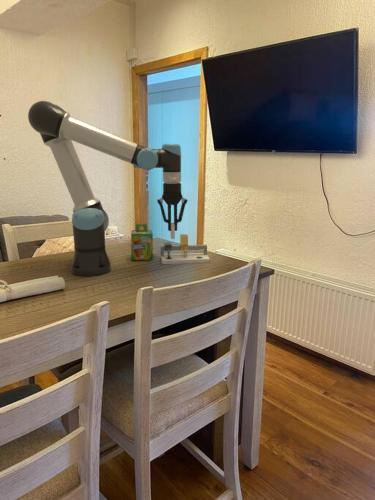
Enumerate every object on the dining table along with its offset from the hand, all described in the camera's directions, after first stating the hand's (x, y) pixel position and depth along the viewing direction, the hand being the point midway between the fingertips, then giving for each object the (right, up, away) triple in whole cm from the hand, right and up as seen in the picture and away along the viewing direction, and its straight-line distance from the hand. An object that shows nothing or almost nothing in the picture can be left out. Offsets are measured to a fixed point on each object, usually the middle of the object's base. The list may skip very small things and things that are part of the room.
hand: (172, 238), depth 164 cm
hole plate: (+5, -9, 0) cm, 11 cm away
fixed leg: (-2, -8, 0) cm, 8 cm away
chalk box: (-14, -9, +4) cm, 16 cm away
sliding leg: (+5, -7, +1) cm, 9 cm away
